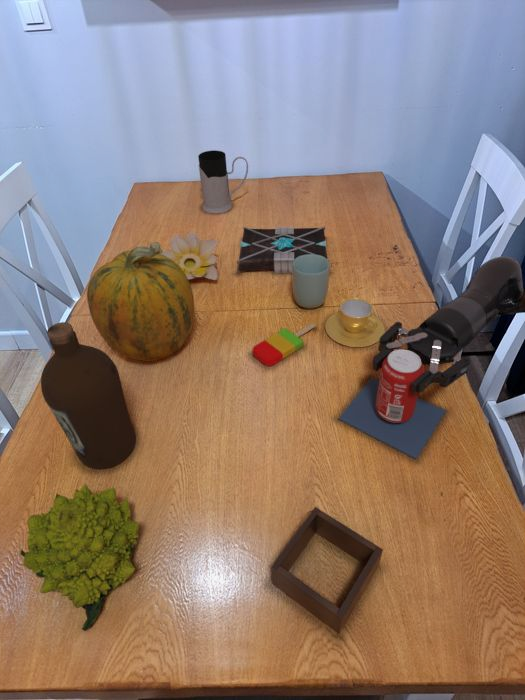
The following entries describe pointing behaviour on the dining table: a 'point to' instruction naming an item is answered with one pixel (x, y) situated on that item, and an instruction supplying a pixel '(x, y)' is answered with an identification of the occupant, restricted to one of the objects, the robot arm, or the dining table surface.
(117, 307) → the pumpkin
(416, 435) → the mat
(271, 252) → the book
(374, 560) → the can holder
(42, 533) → the vegetable
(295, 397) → the dining table surface
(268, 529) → the dining table surface
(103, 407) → the olive oil
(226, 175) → the glass holder
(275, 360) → the popsicle
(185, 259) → the decorative flower
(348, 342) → the cup
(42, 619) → the dining table surface
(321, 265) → the cup
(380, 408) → the beverage can
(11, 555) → the dining table surface
